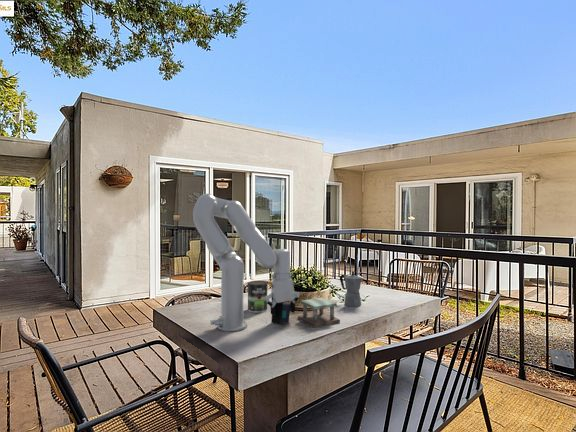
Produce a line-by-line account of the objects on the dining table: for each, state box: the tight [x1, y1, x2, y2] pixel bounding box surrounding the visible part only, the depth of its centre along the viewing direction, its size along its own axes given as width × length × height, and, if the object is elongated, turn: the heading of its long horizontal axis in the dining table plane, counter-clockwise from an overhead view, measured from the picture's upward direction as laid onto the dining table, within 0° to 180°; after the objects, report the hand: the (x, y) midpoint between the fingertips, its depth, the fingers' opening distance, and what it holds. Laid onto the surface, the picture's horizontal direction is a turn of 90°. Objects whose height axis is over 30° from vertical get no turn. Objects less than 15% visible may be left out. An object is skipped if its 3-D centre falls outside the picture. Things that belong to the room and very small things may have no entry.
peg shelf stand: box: [297, 297, 341, 328], centre depth 158 cm, size 14×14×9 cm
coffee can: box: [247, 280, 269, 314], centre depth 177 cm, size 10×10×14 cm
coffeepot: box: [339, 271, 364, 308], centre depth 188 cm, size 15×9×18 cm, turn 44°
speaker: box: [270, 302, 291, 326], centre depth 156 cm, size 8×6×10 cm
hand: (283, 313), depth 156 cm, fingers open, 9 cm apart
